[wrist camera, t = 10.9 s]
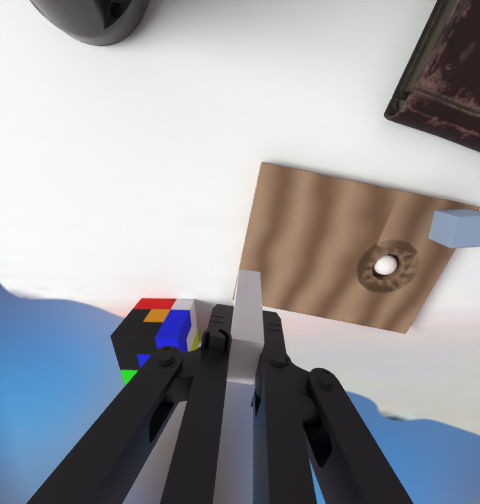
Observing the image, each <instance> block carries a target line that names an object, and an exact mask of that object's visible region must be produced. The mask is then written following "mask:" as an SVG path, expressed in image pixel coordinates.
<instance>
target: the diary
mask: <svg viewBox="0 0 480 504" xmlns="http://www.w3.org/2000/svg"><path fill="white" fill-rule="evenodd" d="M384 117H385V118H386V119H387V120H390V121H393V122H396V123H399V124H402V125H406V126H409V127H412V128H415V129H418V130H421V131H424V132H427V133H430V134H433V135H436V136H439V137H442V138H444V139H447V140H450V141H452V142H455V143H457V144H460V145H463V146H465V147H468V148H471V149H473V150H476V151H479V152H480V0H437V2H436V4H435V7H434V9H433V11H432V13H431V15H430V17H429V19H428V21H427V24H426V26H425V28H424V30H423V32H422V34H421V36H420V38H419V41H418V43H417V45H416V47H415V49H414V51H413V53H412V55H411V58H410V60H409V62H408V64H407V66H406V68H405V70H404V73H403V75H402V77H401V79H400V81H399V83H398V85H397V87H396V90H395V92H394V94H393V96H392V99H391V100H390V102H389V104H388V107H387V109H386V111H385V113H384Z"/></svg>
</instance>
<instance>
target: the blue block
mask: <svg viewBox="0 0 480 504" xmlns="http://www.w3.org/2000/svg"><path fill="white" fill-rule="evenodd" d="M428 238H429V239H431V240H433V241H435V242H438V243H440V244H442V245H444V246H447V247H449V248H465V247H480V212H478V211H474V210H470V209H453V210H436V211H435V212H434V216H433V220H432V225H431V229H430V233H429V237H428Z"/></svg>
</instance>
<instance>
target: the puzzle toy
mask: <svg viewBox="0 0 480 504" xmlns="http://www.w3.org/2000/svg"><path fill="white" fill-rule="evenodd" d="M111 339H112V343H113V346H114V350H115V353H116V357H117V360H118V364H119V367H120V370H121V374H122V377H123V381H124V384H125V385H126V384H127V383H128V382H129V381H130V380H131V378H132V377H133V376H134V375H135V374H136V372H137V371H138V370H139V369H140V368H141V366H142V365H143V364H144V363H145V362H146V361H147V359H148V358H149V357H150V356H151V355H152V353H153V352H154V351H156V350H157V349H158V348H160V347H163V346H169V345H170V346H175V347H177V348H178V349H180V351H181V352H189V351H194V350H196V349H197V348H198V344H199V335H198V326H197V317H196V308H195V300H194V299H154V298H141V300H140V301H139V302H138V303H137V304H136V306H135V307H134V308H133V309H132V311H131V312H130V313H129V314H128V315H127V317H126V318H125V319H124V320H123V322H122V323H121V324H120V325H119V326H118V328H117V329H116V330H115V331H114V332H113V334H112V335H111Z"/></svg>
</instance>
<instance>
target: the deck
mask: <svg viewBox="0 0 480 504" xmlns="http://www.w3.org/2000/svg"><path fill="white" fill-rule="evenodd" d="M479 208H480V207H477V206H472V205H468V204H463V203H458V202H453V201H448V200H443V199H438V198H433V197H428V196H424V195H419V194H414V193H409V192H404V191H399V190H394V189H389V188H384V187H380V186H375V185H370V184H365V183H360V182H355V181H350V180H345V179H340V178H336V177H331V176H326V175H321V174H316V173H311V172H306V171H301V170H296V169H291V168H287V167H282V166H277V165H272V164H267V163H262V162H261V166H260V171H259V176H258V181H257V186H256V190H255V195H254V200H253V205H252V209H251V214H250V219H249V224H248V229H247V233H246V238H245V243H244V248H243V252H242V257H241V262H240V267H239V269H243V270H250V271H256V272H260V277H261V295H262V306H266V307H271V308H276V309H281V310H287V311H292V312H297V313H302V314H307V315H312V316H317V317H322V318H327V319H333V320H338V321H343V322H348V323H353V324H358V325H363V326H368V327H374V328H379V329H384V330H389V331H394V332H399V333H404V334H406V332H407V331H408V329H409V327H410V325H411V324H412V322H413V320H414V319H415V317H416V315H417V314H418V312H419V310H420V308H421V307H422V305H423V303H424V302H425V300H426V298H427V296H428V295H429V293H430V291H431V290H432V288H433V286H434V285H435V283H436V281H437V279H438V278H439V276H440V274H441V273H442V271H443V269H444V267H445V266H446V264H447V262H448V261H449V259H450V257H451V256H452V254H453V252H454V250H455V249H456V248H449V247H447V246H444V245H442V244H440V243H438V242H435V241H433V240H431V239H429V238H428V237H429V233H430V229H431V225H432V220H433V216H434V212H435V211H436V210H453V209H470V210H474V211H478V209H479ZM386 254H394V259H395V260H396V263H397V267H396V269H395V271H394V272H392V273H391V274H387V275H383V274H375V273H372V266H373V264H374V262H375V261H376V260H377V259H378V258H379V257H381V256H383V255H386ZM238 273H239V272H238ZM237 279H238V276H237ZM236 285H237V281H236ZM235 291H236V286H235ZM235 291H234V297H235ZM234 297H233V300H234Z"/></svg>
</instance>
